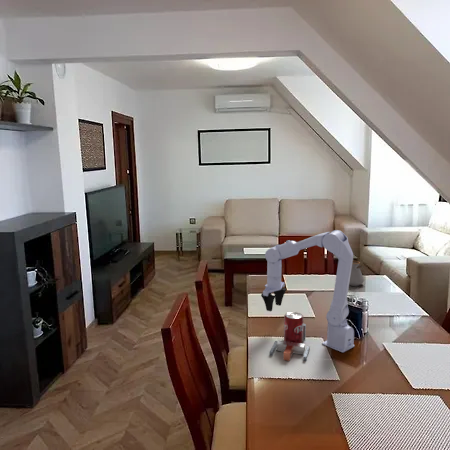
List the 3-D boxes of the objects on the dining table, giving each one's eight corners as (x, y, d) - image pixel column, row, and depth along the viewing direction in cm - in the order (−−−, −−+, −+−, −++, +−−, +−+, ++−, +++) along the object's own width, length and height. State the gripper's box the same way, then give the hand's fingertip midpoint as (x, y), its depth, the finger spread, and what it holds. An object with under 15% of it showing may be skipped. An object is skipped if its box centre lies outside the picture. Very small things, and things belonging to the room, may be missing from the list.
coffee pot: (340, 280, 237) (341, 255, 234) (361, 281, 236) (362, 255, 233) (348, 293, 216) (349, 265, 213) (370, 293, 215) (372, 265, 212)
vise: (280, 334, 167) (280, 320, 166) (313, 339, 162) (313, 325, 161) (269, 355, 150) (269, 340, 149) (306, 361, 145) (306, 345, 144)
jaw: (278, 346, 156) (278, 340, 155) (304, 350, 153) (304, 343, 152) (272, 358, 147) (272, 350, 147) (300, 362, 144) (300, 355, 144)
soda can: (281, 346, 157) (281, 316, 155) (287, 338, 163) (287, 310, 161) (299, 350, 153) (300, 320, 151) (305, 342, 160) (306, 313, 158)
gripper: (274, 270, 175) (274, 300, 177) (256, 278, 163) (256, 311, 166) (289, 273, 171) (288, 304, 173) (271, 281, 159) (271, 315, 161)
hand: (273, 307), depth 169 cm, fingers open, 7 cm apart
